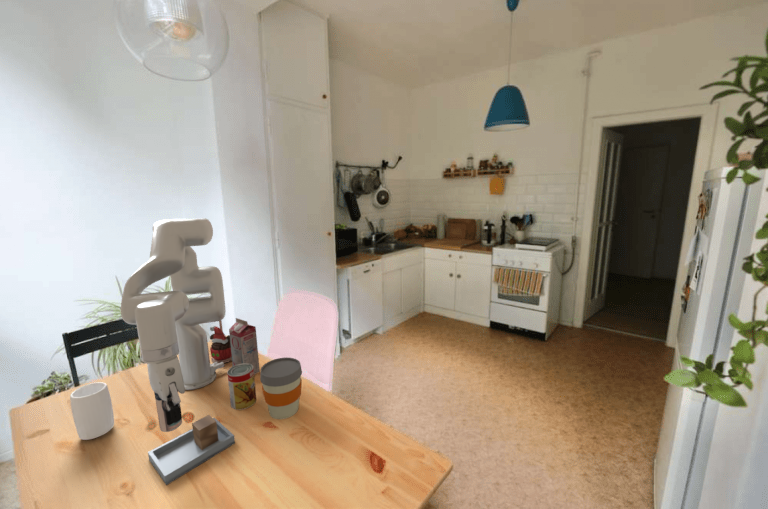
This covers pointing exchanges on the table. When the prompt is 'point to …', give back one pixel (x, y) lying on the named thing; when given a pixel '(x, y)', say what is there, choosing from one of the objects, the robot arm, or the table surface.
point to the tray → (186, 453)
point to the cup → (92, 410)
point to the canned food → (241, 386)
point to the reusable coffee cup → (281, 386)
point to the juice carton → (244, 344)
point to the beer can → (162, 416)
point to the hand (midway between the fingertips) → (170, 416)
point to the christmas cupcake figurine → (220, 345)
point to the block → (205, 432)
